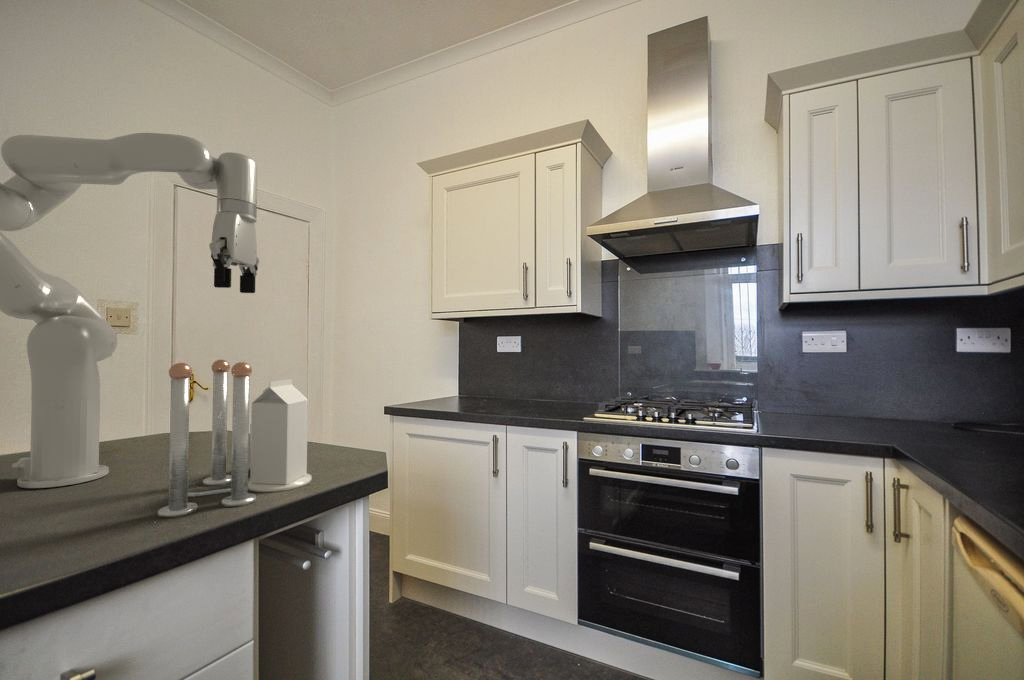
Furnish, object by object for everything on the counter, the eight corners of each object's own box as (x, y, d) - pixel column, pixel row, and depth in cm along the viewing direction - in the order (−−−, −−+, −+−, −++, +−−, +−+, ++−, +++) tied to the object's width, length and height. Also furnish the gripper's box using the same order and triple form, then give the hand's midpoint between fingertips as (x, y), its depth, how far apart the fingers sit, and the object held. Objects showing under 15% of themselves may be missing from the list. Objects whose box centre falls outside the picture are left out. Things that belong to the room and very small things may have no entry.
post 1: (149, 518, 69) (152, 363, 69) (172, 506, 74) (175, 362, 74) (183, 517, 69) (186, 363, 70) (204, 506, 74) (206, 362, 75)
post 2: (197, 485, 85) (199, 359, 85) (213, 477, 90) (215, 359, 90) (224, 485, 85) (226, 360, 86) (239, 477, 90) (241, 359, 90)
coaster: (234, 492, 81) (234, 488, 81) (264, 474, 92) (264, 471, 92) (297, 492, 82) (297, 488, 82) (320, 474, 93) (320, 471, 93)
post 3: (215, 507, 74) (217, 362, 74) (232, 496, 79) (234, 361, 79) (246, 506, 74) (249, 362, 74) (261, 496, 79) (264, 361, 80)
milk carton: (307, 474, 91) (308, 379, 91) (286, 485, 84) (288, 382, 84) (273, 473, 91) (274, 378, 92) (249, 484, 84) (251, 381, 84)
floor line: (168, 499, 78) (168, 497, 78) (173, 494, 80) (173, 492, 80) (244, 491, 82) (244, 489, 82) (246, 487, 84) (246, 485, 84)
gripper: (240, 222, 109) (239, 294, 108) (193, 199, 91) (192, 284, 91) (273, 223, 109) (271, 294, 109) (232, 200, 92) (230, 285, 91)
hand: (235, 290), depth 100 cm, fingers open, 9 cm apart
